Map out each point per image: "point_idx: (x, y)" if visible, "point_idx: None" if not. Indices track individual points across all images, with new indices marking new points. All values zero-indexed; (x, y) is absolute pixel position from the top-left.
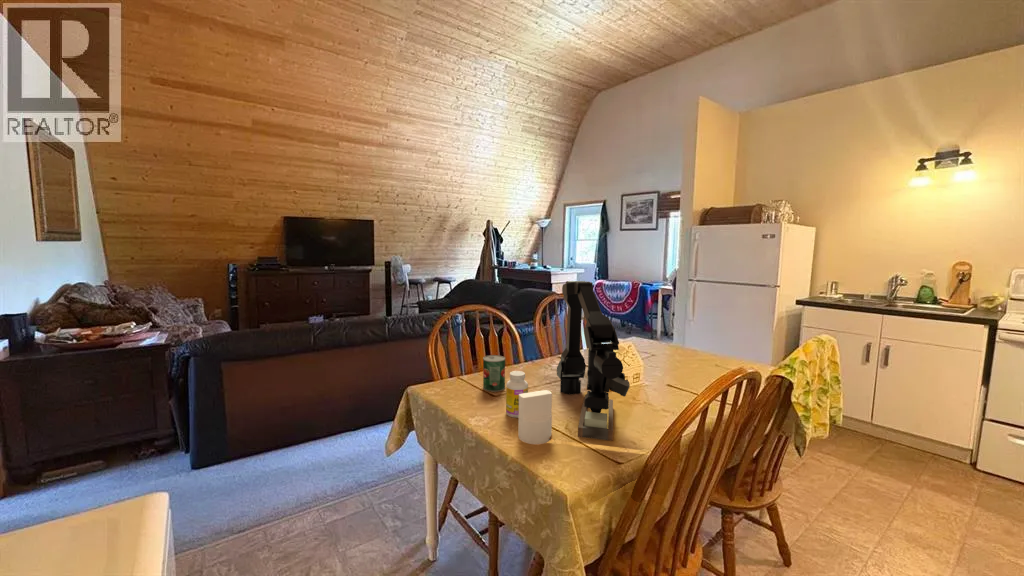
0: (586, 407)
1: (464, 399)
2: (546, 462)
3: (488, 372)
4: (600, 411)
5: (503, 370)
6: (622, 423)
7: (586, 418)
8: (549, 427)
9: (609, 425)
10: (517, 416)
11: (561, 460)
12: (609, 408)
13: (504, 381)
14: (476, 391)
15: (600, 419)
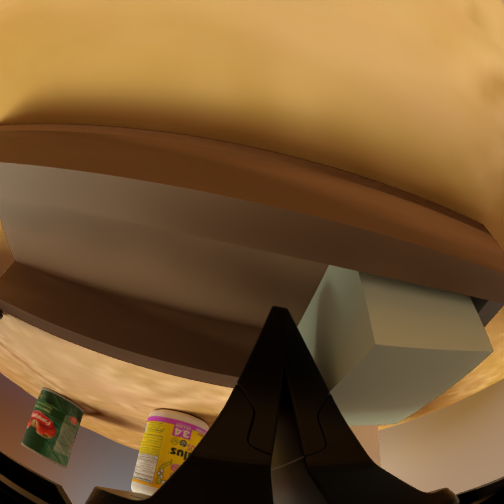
0: (460, 493)
1: (142, 437)
2: (459, 389)
3: (72, 446)
4: (327, 388)
5: (45, 433)
6: (160, 48)
7: (401, 420)
8: (368, 439)
9: (459, 285)
10: (208, 428)
11: (471, 372)
12: (54, 200)
13: (49, 406)
14: (97, 420)
15: (453, 379)
